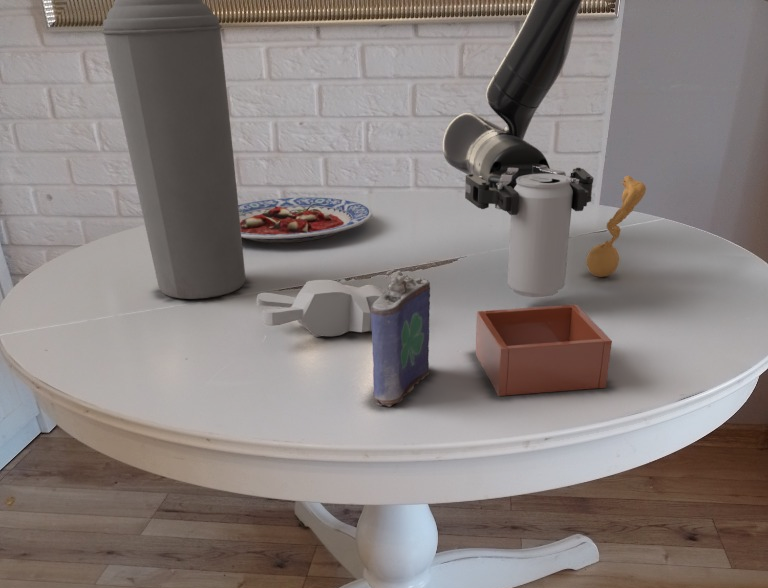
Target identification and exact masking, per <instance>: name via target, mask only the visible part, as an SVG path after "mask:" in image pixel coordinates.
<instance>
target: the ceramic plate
mask: <svg viewBox="0 0 768 588" xmlns="http://www.w3.org/2000/svg"><path fill="white" fill-rule="evenodd" d="M238 207H239V217H240V227H241V238H242V239H247V240H249V241H253V242H259V243H270V244H286V243H288V244H289V243H300V242H301V243H302V242H308V241H309V242H310V241H315V240H320V239H324V238H328V237H331V236H334V235H336V234H339V233H341V232H342V231H347V230H349V229H353V228H355V227H359V226H361V225H363V224H365V223H366V222H368V221H370V219H371V218H372V216H373V210H372V208H371V207H369V206H367V205H366V204H364V203H361V202H358V201H354V200H349V199H344V198H336V197H318V196H317V197H315V196H313V197H312V196H306V197H305V196H301V197H282V198H273V199H272V198H271V199H264V200H256V201H252V202H245V203H242V204H238Z"/></svg>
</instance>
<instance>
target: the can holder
mask: <svg viewBox="0 0 768 588" xmlns="http://www.w3.org/2000/svg"><path fill="white" fill-rule="evenodd" d="M612 343H613V341H612V339H611V338H610V337H609V336H608V335H607V334H606V333H605V332H604V331H603V330H602V329H601V328H600V327H599V326H598V325H597V324H596V323H595V322H594V321H593V320H592V319H591V318H590V317H589V315H587V314H586V313H585V312H584V310H582V308H581V307H580V306H579V305H578V304H564V305H563V304H562V305H548V306H534V307H521V308H519V307H518V308H507V309H491V310H477V311H476V327H475V356H476V358H477V360H478V363H479V364H480V365H481V367H482V369H483V371H484V373H485V374H486V376H487V378H488V380H489V381H490V383H491V385H492V387H493V388H494V390H495V392H496V395H497V396H498V397H505V396H515V395H517V396H518V395H529V394H542V393H553V392H554V393H555V392H566V391H578V390H579V391H580V390H591V389H592V390H593V389H606V388H607V382H608V374H609V367H610V360H611V359H610V358H611V353H612V351H611V350H612Z"/></svg>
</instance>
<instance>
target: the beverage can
mask: <svg viewBox="0 0 768 588" xmlns="http://www.w3.org/2000/svg"><path fill="white" fill-rule="evenodd" d="M567 176H568V175H566V176H564V175H558V174H530V175H524V176H520V177H518V178H517V179H516V182H517V185H516V186H515V188H514V190H515V191H517V192H518V194H519V204H518V214H517V215H510V224H509V225H510V227H509V247H508V265H507V286H508V287H509V288H510V289H511V290H512V291H513V292H514V293H515V294H517V295H519V296H523V297H528V298H547V297H551V296H554V295H557V294H558V292H559V291H560V290H561V289H563V288H564V287H565V285H566V274H567V264H568V263H567V262H568V251H569V242H570V241H569V240H570V232H571V231H570V229H571V221H572V220H571V219H572V210H573V209H572V199H573V190H572V188H571V186H570V184H569V183H570V181H571V179H570V178H569V177H567Z"/></svg>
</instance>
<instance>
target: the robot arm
mask: <svg viewBox="0 0 768 588" xmlns="http://www.w3.org/2000/svg"><path fill="white" fill-rule="evenodd" d="M582 2H583V0H533V3H532V5H531V7H530V10H529V11H528V14H527V16H526V18H525V20H524V22H523V24H522V26H521V28H520V30H519V32H518V34H517V35H516V37H515V39H514V41H513V42H512V44H511V46H510V47H509V49H508V50H507V52H506V54H505V56H504V58H503V59H502V61H501V63H500V65H499V66H498V68H497V69H496V71H495V73H494V75H493V76H492V78H491V80H490V81H489V84H488V86H487V88H486V91H485V98H486V102H487V104H488V105H489V107H490V109H492V111H493V112H494V113H495V114H496V115H497V116H499V118H501V119H502V121H503V122H504V123H506V125H505V127H504V128H503V127H501V126H500V125H497V124H495V123H493V122H491V121H490V120H488V119H485V118H484V117H481V116H480V115H478V114H476V113H473V112H464V113H461V114H459V115H458V116H456V117H455V118H454V119H452V121H451V122H450V123H449V124H448V126H447V128H446V129H445V131H444V134H443V139H442V154H443V158H444V159H445V161H446V162H447V164H449V165H450V166H451V167H453V168H454V169H456V170H458V171H460V172H461V173H463V174H466V175H465V187H464V189H465V191H464V197H465V199H466V200H467V201H468V202H470V203H471V204H473V205H474V206H475V207H476V208H478V209H481V210H486V209H488V208H490V205H494V208H495V209H497V210H502V211H504V212H507V213H508V214H509V216H511V215H517V214H518V204H519V194H518V192H517V191H515V190H514V188H515V186H516V185H517V182H516V179H517V178H518V177H520V176H524V175H530V174H558V175H564V176H567V177H569V178H570V179H571V181H570V183H569V184H570V186H571V188H572V190H573V199H572V210H573V211H575V212H583V211H584V209H585V207H587V206H588V203H591V202H592V192H593V184H594V177H593V176H592V175H591V174H590V173H589V172H588V171H587V170H585V169H584V168H581V167H576V168H575V167H574V168H573V169H572V170H571V171H570V175H567V173H566V172H565V171H563V170H558V169H554V168H551V167H550V165H549V162H548V160H547V158H546V156H545V154H544V153H543V152H542V151H541V150H540V149H538V148H537V147H535V146H534V145H532V144H530V143H529V142H528V141H526V140H524V138H525V136H526V134H527V131H528V128H529V126H530V124H531V122H532V120H533V118H534V115H535V114H536V112H537V110H538V109H539V107H540V105H541V103H542V102H543V101H544V99H545V97H547V94H548V93H549V92H550V90H551V89H552V87H553V86H554V84H555V82H556V80H558V78H559V75H560V74H561V72H562V70H563V67H564V65H565V63H566V61H567V58H568V55H569V51H570V48H571V44H572V39H573V35H574V29H575V25H576V21H577V17H578V14H579V11H580V9H581V8H580V7H581V5H582ZM763 2H767V3H768V0H763Z"/></svg>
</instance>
